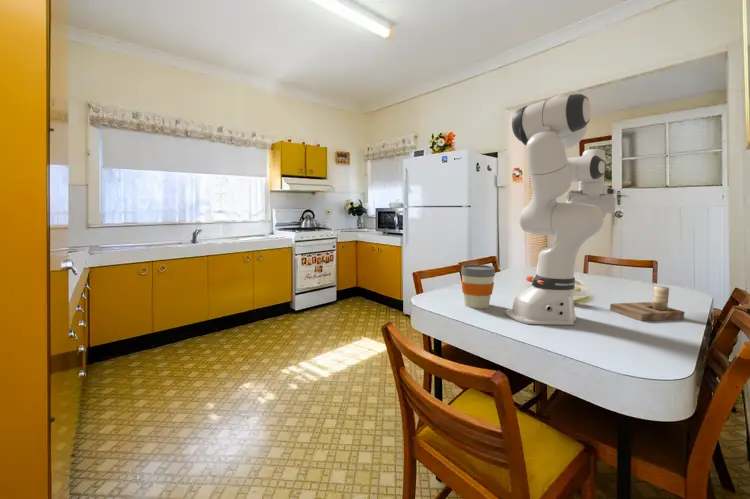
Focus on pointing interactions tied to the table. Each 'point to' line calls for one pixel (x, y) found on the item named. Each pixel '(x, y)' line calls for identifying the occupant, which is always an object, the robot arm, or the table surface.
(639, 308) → the pin board
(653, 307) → the pin
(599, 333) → the table surface
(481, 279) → the reusable coffee cup
